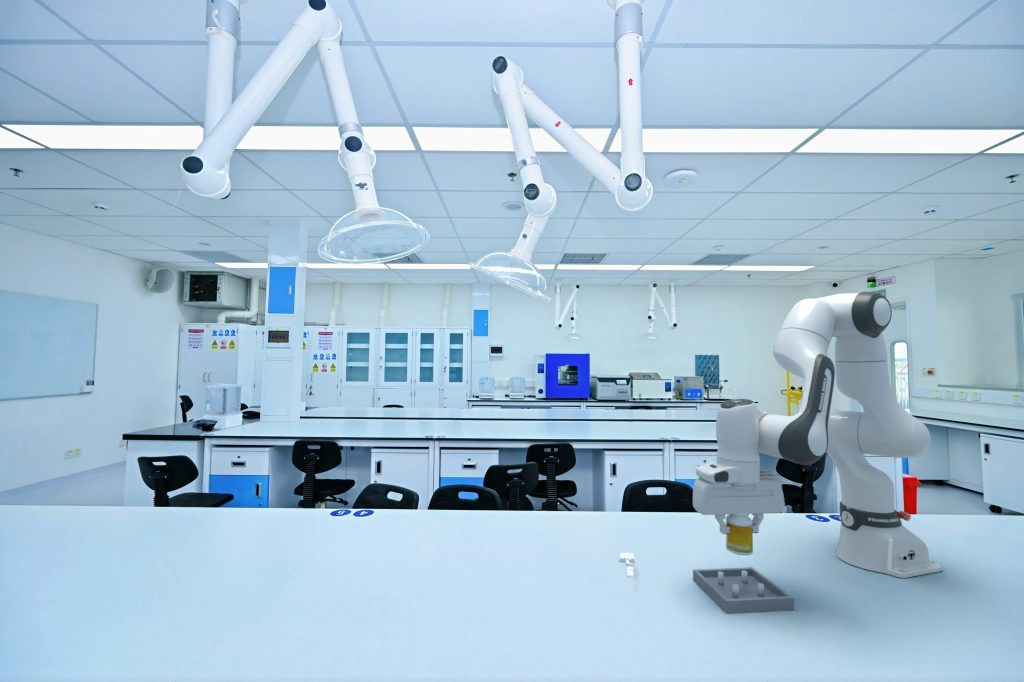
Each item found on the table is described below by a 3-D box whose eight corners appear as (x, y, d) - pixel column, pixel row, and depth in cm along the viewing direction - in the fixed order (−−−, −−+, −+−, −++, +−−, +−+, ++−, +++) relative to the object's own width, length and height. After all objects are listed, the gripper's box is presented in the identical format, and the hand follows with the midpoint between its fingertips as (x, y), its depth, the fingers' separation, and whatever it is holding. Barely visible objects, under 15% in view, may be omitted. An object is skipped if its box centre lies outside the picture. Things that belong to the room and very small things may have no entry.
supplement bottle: (756, 557, 96) (756, 512, 97) (730, 554, 98) (729, 510, 98) (748, 547, 102) (747, 504, 102) (723, 545, 103) (723, 502, 103)
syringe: (646, 596, 99) (646, 588, 99) (625, 594, 100) (625, 587, 100) (634, 557, 119) (634, 551, 119) (617, 556, 120) (617, 549, 120)
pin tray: (752, 577, 107) (752, 563, 107) (794, 610, 93) (793, 593, 93) (693, 580, 106) (692, 565, 106) (726, 613, 92) (726, 596, 92)
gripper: (771, 467, 105) (772, 526, 104) (688, 468, 103) (689, 528, 102) (790, 473, 98) (792, 537, 98) (703, 475, 97) (703, 539, 96)
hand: (739, 532), depth 100 cm, fingers closed on supplement bottle, 5 cm apart
